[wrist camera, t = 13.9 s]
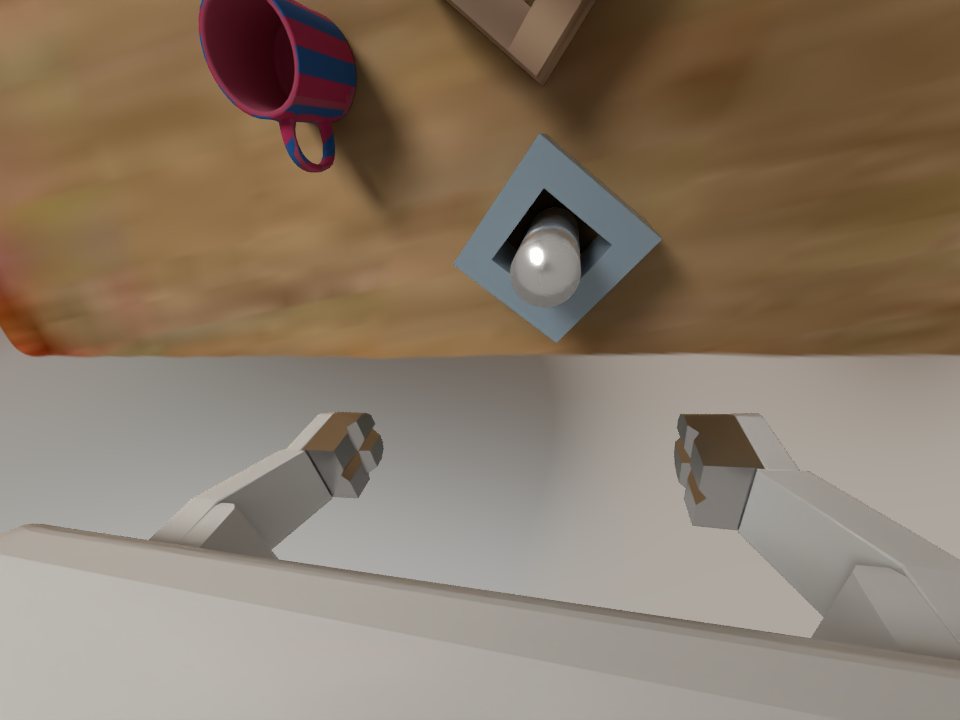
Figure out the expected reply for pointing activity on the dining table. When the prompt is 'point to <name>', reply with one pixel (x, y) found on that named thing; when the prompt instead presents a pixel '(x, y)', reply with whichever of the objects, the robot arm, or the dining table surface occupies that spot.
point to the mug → (280, 66)
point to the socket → (587, 198)
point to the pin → (548, 260)
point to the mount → (528, 29)
